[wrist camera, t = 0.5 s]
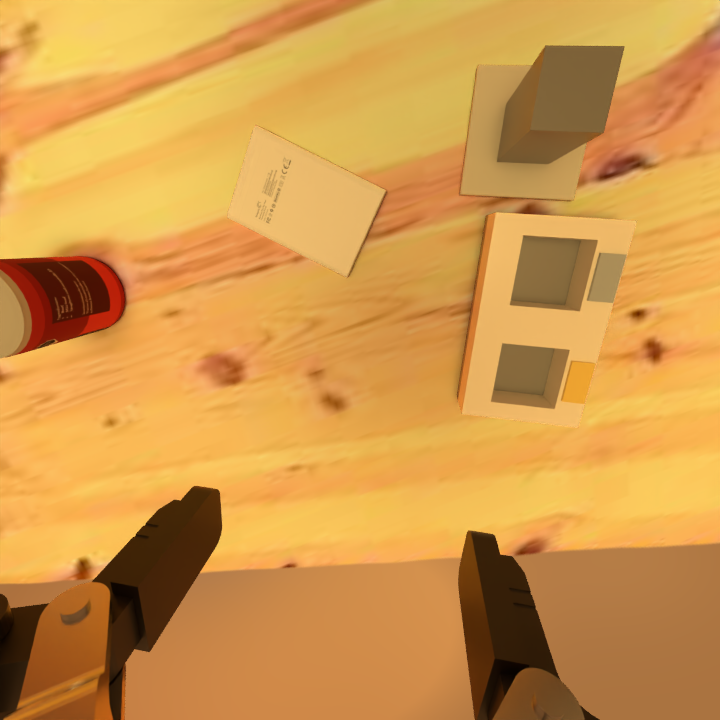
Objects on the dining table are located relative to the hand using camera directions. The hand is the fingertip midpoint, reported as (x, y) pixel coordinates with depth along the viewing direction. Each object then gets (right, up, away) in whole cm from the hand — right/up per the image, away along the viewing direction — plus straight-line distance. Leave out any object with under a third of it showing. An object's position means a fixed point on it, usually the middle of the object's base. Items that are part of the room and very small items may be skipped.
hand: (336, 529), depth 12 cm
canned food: (-28, +12, +28) cm, 41 cm away
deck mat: (+14, +23, +18) cm, 32 cm away
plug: (+14, +23, +17) cm, 32 cm away
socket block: (+16, +9, +22) cm, 29 cm away
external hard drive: (-4, +20, +22) cm, 30 cm away
